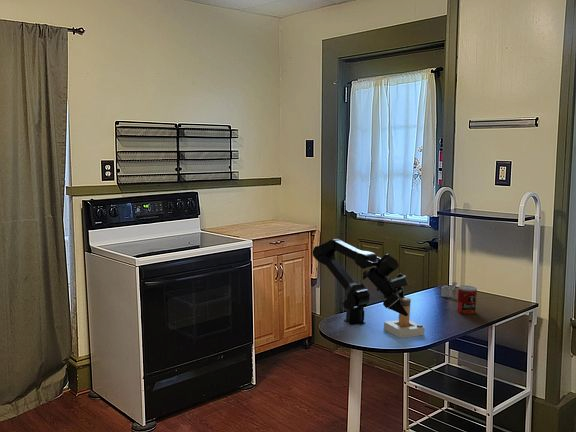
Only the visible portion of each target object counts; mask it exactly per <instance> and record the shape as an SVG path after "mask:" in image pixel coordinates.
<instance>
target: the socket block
mask: <svg viewBox="0 0 576 432" xmlns="http://www.w3.org/2000/svg"><path fill="white" fill-rule="evenodd" d="M383 330H384V331H386V332H388V333H390V334H392V335H393V336H395V337H397V338H398V339H405V338H410V337H411V338H412V337H419V336H420V335H421V336H424V335H425V330H426V329H425V326H424V325H423V324H419V323H417V322H415V321H413V320H410V319H409V327H404V328H402V327H400V326H399V319H398V320H388V321H384V322H383Z"/></svg>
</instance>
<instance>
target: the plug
mask: <svg viewBox="0 0 576 432" xmlns="http://www.w3.org/2000/svg"><path fill="white" fill-rule="evenodd" d="M411 301H412V300H411V299H410V298H409V297H408V298H407V297H405V298H401V304H402V305H403V307H404V308H405V310H406V312H407V313H408V315H407V316H404V315H402V314H400V313H398V320H399V326H400V327H402V328H404V327H409V320H410V316H411V303H412V302H411Z"/></svg>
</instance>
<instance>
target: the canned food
mask: <svg viewBox="0 0 576 432" xmlns="http://www.w3.org/2000/svg"><path fill="white" fill-rule="evenodd" d="M477 290H478V289H477V287H475V286H472V285H466V284H465V285H464V284H463V285H459V286H458V290H457V305H456V310H457V313H459V314H461V315H474V314H475V313H476V307H477V306H476V305H477V303H476V302H477V294H478V293H477V292H478V291H477Z"/></svg>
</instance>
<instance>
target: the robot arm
mask: <svg viewBox="0 0 576 432" xmlns="http://www.w3.org/2000/svg"><path fill="white" fill-rule="evenodd" d="M336 252H338V253H340V254H341V255H343V256H345V257H347V258H349V259H351V260H352V261H354V263H355V264H356V265H357V266H358V267H359V268H360V269H363V270H364V271H363V272H362V280H366V279H368V280H369V281H370V282H371V283H372V284H373V285H374V287H376V288H375V289H376V291H377V292H380V293H381V295H383V299H384V300H383V304H382V305H383V307H385V309H388V310H392V311H394V312H396V313H398V314H399V313H400V314H402V315H404V316H407V315H408V313H407V312H406V310H405V308H404V307H403V305H402V304H401V298H406V296H405V289H404V287H406V286H408V285H409V280H408V276H407V275H406V274H404V273H402V272H400V273H398V274H397V275H396V276H397V277H395V278H394V279H392V278H391V277H388V276H390V275H391V274H392V273H393V272H395V271H396V270H397V269H399V262H398V261H397V260H396V258H394V257H393V256H391V255H390V253H387V254H384V255H383V256H382V257H379V256H378V255H377V254H376V253H374V252H373V251H369V250H361V249H358V248H357V247H355V246H353V245H351V244H348V243H346V242H345V241H343V240H342V239H340V238H333V239H332V238H331V239H330V240H328V241H327V242H324V243H322V244H320V245H316V246H314V247H313V249H312V256H313V258H314V259H315V260H316V261H317V262H318V263H320V264H322V265H323V266H326V268H327V269H328V271H330V273H331V274H332V275H333V277H334V278H335V279H336V280H337V281H338V283H339V284H340V286H341V287H342V288H343V289H344V290H345V297H346V299H345V300H344V301H343V302H342V305H343V308H344V309H345V310H346V311H345V314H346V315H345V318H344V319H343V321H344V322H346V323H347V324H349V325H351V326H353V325H354V326H355V325H363V324H366V321H365V308H366V307H367V305H368V303H369V301H370V298H371V297H370V293H369V289H367V287H365V284H363V283H356V282H355V280H353V279H352V277H351V276H350V275H349V274H348V272H347V271H346V270H345V269H344V268H343V267H344V266H342V265H341V264H340V262H339V261H338V260H337V258H336ZM369 268H370V269H369ZM365 269H368V270H365Z"/></svg>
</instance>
